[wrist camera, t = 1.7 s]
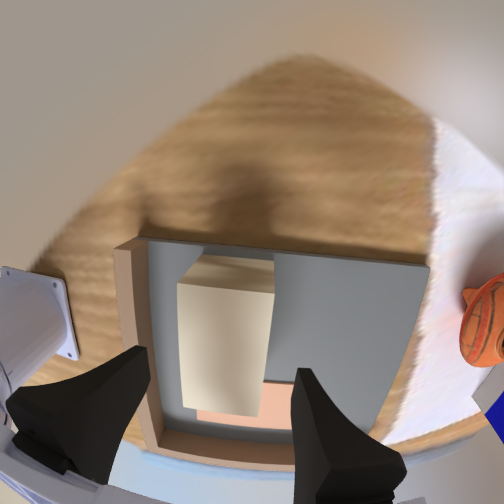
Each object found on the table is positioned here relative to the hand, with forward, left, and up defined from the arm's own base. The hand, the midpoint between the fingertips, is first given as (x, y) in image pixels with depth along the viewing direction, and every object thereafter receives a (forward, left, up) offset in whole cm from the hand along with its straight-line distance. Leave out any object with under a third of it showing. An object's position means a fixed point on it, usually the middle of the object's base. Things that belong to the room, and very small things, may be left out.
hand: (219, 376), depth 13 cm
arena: (+3, -5, -7) cm, 9 cm away
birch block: (0, 0, -6) cm, 6 cm away
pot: (+20, +1, -7) cm, 21 cm away
